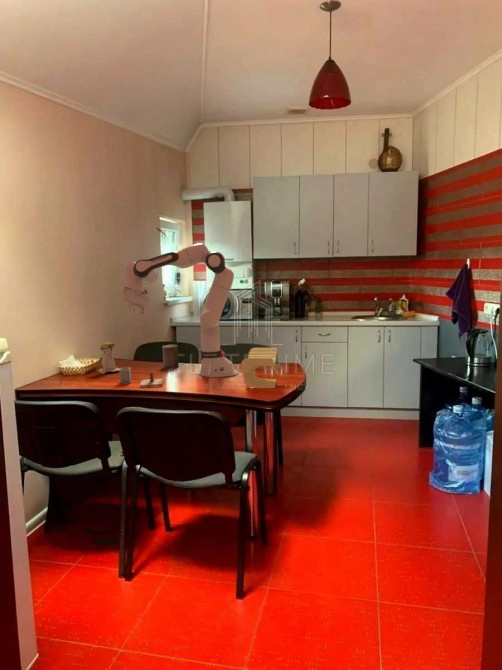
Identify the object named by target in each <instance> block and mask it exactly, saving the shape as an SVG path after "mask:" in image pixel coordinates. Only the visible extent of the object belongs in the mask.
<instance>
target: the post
mask: <svg viewBox="0 0 502 670" xmlns="http://www.w3.org/2000/svg"><path fill="white" fill-rule="evenodd" d="M149 378H150V379H149ZM149 378H148V379H141V381H140V383H139V388H140V387H144V388H159V387H160V386H162V387H163V386H164V383H165V382H164V381H165V379H164V378H154V372H149Z"/></svg>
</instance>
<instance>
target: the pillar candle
mask: <svg viewBox="0 0 502 670" xmlns="http://www.w3.org/2000/svg"><path fill="white" fill-rule="evenodd" d="M161 350H162V362H163V366H162V367H163V368H164V369H176V368H179V367H180V366H179V365H180V364H179V347H178V344H167V345H162V349H161Z"/></svg>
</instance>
